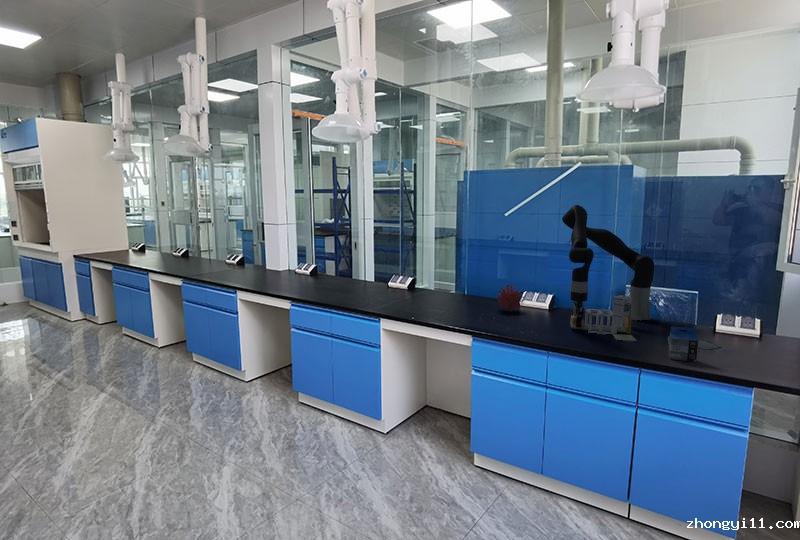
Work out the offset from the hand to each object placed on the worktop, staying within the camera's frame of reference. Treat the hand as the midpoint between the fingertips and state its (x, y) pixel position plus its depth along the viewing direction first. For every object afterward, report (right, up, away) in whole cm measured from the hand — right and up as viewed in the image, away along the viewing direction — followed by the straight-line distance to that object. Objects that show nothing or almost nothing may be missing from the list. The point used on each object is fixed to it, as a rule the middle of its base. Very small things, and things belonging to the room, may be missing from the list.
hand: (577, 325), depth 213 cm
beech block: (0, -1, 0) cm, 1 cm away
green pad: (+16, -4, -12) cm, 21 cm away
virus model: (-23, +3, +38) cm, 44 cm away
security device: (+42, -7, -22) cm, 48 cm away
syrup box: (+25, -1, +9) cm, 27 cm away
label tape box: (+25, -9, -39) cm, 47 cm away
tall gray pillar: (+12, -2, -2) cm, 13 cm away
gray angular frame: (+10, -3, -1) cm, 10 cm away
